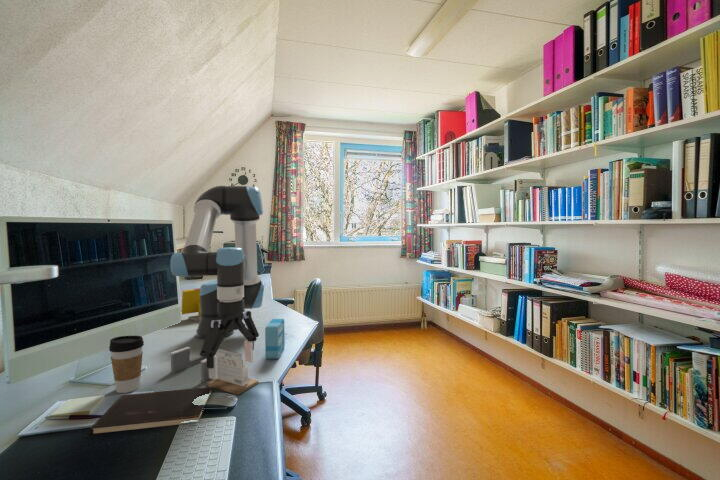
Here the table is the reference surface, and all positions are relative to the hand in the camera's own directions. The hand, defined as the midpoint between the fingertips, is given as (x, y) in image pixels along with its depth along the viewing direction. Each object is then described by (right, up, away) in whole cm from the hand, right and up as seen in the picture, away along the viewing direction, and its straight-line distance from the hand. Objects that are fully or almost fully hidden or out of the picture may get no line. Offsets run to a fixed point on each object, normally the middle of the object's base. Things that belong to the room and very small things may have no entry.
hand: (232, 369), depth 105 cm
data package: (+7, -4, +25) cm, 26 cm away
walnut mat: (0, -5, 0) cm, 4 cm away
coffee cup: (-30, -5, -2) cm, 30 cm away
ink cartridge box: (0, -4, 0) cm, 4 cm away
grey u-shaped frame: (-13, -4, +12) cm, 18 cm away
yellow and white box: (-41, -1, +74) cm, 85 cm away
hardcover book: (-14, -6, -15) cm, 21 cm away
